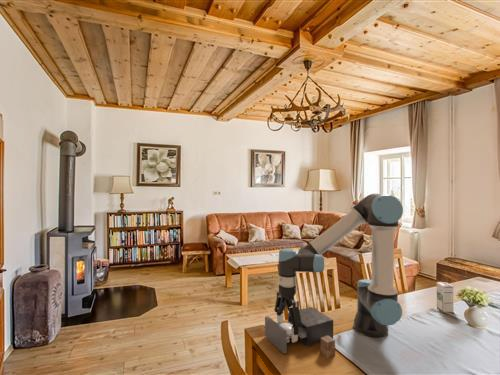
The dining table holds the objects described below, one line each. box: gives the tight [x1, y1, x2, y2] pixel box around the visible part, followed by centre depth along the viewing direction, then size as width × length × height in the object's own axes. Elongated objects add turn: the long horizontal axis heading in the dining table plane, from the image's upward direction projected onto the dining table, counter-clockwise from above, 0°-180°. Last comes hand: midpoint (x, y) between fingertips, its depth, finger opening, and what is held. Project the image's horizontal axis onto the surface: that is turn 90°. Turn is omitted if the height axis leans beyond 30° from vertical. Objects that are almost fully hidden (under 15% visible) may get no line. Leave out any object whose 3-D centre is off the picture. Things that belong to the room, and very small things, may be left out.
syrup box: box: [436, 281, 455, 313], centre depth 154 cm, size 6×6×14 cm
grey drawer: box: [264, 315, 307, 354], centre depth 123 cm, size 15×15×9 cm
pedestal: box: [320, 336, 336, 358], centre depth 113 cm, size 4×4×6 cm
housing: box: [287, 306, 334, 348], centre depth 128 cm, size 14×15×8 cm
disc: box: [279, 322, 293, 336], centre depth 122 cm, size 8×8×2 cm
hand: (287, 335), depth 122 cm, fingers open, 10 cm apart
